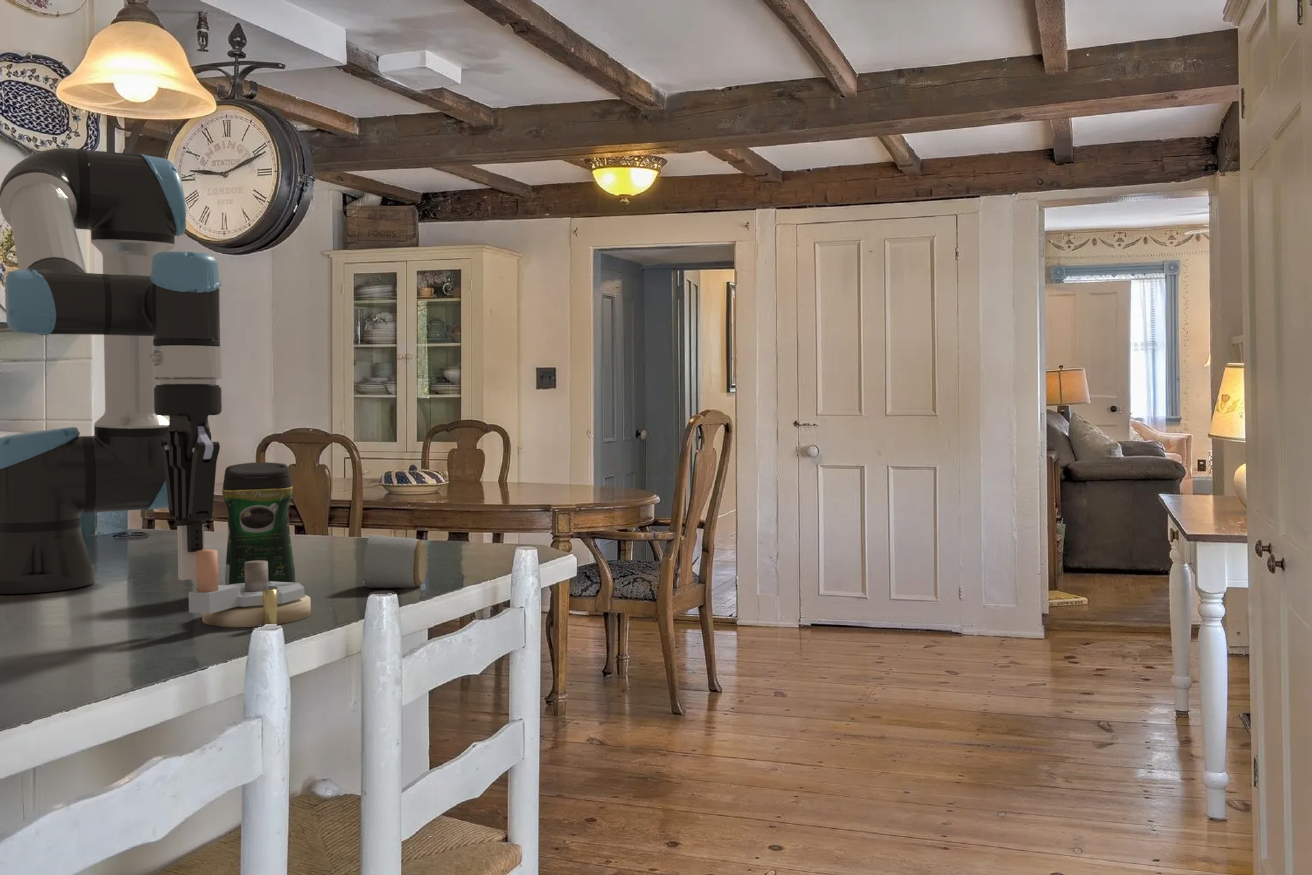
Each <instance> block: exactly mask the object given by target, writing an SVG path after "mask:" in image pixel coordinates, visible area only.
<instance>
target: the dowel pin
mask: <svg viewBox="0 0 1312 875" xmlns="http://www.w3.org/2000/svg"><path fill="white" fill-rule="evenodd" d="M263 622H264V625H265V624H277V589H265V590H263ZM277 625H278V624H277Z"/></svg>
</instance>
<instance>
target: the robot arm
mask: <svg viewBox="0 0 1312 875" xmlns="http://www.w3.org/2000/svg"><path fill="white" fill-rule="evenodd" d="M186 206H187V205H186V199H185V192H184V187H183V183H182V180H181V176H180V173H179V171H178V169H177V167H176V165H175V164H174V163H173V162H172V161H171V160H169V159H166V158H164V157H159V156H152V155H148V154H147V155H146V154H143V153H140V154H139V153H138V154H137V153H127V152H126V153H125V152H115V151H114V152H113V151H103V150H102V151H101V150H90V149H80V148H71V147H69V148H68V147H58V148H51V149H47V150H42V151H39V152H36V153H34V154H32V155H29V156H27V157H26V158H24V159H22V160H21V161H19V162H18V163H16V165H14V166H13V167H12V168H11V169H10V170H9V171H8V172H7V174H6V175H5V176H4V179H3V180H2V182H1V184H0V213H1V215H2V217H3V219H4V220H5V221H6V223H7V224H8V225H9V226H10V227H11V230H12V235H13V242H14V249H15V254H16V261H17V267H18V269H17V270H12V271H9V272H8V273H7V275H6V277H5V283H4V297H5V298H4V300H5V302H4V303H5V318H6V325H7V326H8V328H9V329H10V330H11V331H12V332H15V333H23V334H37V335H40V336H48V335H49V336H50V335H80V336H81V335H83V336H84V335H86V336H87V335H90V336H92V335H95V336H101V335H102V336H103V356H104V357H103V358H104V361H103V362H104V363H103V364H104V410H105V411H104V414H103V415H102V416H101V417H99V418H97V419H96V421H95V422H94V426H93V428H94V429H93V430H94V434H93V435H87V436H86V435H85V436H84V435H82V436H81V432H80V431H79V429H78V427H75V426H72V427H68V426H67V427H61V428H59V427H58V428H51V429H50V428H49V429H44V430H35V431H29V432H21V433H16V434H10V435H5V436H0V594H2V595H3V594H5V595H7V594H8V595H13V594H16V595H17V594H35V593H46V592H48V593H49V592H57V591H66V590H70V589H76V588H77V589H78V588H82V587H86V586H90V585H93V584H94V583H95V582H96V573H95V572H96V568H95V566H94V563H92V562H91V561H90V556H89V552H88V548H87V546H86V543H85V540H84V537H83V534H82V527H81V526H82V525H81V524H82V523H81V520H82V519H81V514H86V513H87V514H88V513H90V514H91V513H106V512H108V513H109V512H123V511H124V512H126V511H140V510H142V511H144V512H148V511H150V510H156V509H157V510H158V509H167V508H168V514H169V517H170V518H174V523H175V524H176V527H177V530H176V531H177V532H176V533H177V573H178V577H177V578H178V580H179V581H180V580H181V581H186V580H197V575H196V551H198V550H205V525H206V523H207V521H211V520H212V518H213V510H214V498H215V497H214V495H215V487H216V486H215V484H216V471H217V461H218V457H219V453H220V448H221V446H220V442H219V441H212V433H211V429H210V424H209V419H208V418H209V416H218V415H220V414H221V413H222V410H223V409H222V408H223V406H222V402H223V401H222V387H220V385H219V384H217V380H221V378H222V377H223V376H222V373H223V372H222V347H221V328H220V327H221V324H220V323H221V319H220V316H221V315H220V311H221V310H220V308H221V307H220V299H221V298H220V295H221V294H220V291H221V289H220V288H221V286H222V285H221V284H222V283H221V280H220V274H219V263H218V260H217V259H216V257H215V256H213V255H212V254H209V253H204V252H203V253H202V252H196V251H171V250H173V249H174V248H175V247H176V245H175V243H176V242H175V237H180V236H182V235H184V234H185V233H186V230H187V229H186V228H187V219H186V218H187V207H186ZM77 230H88V231H90V243H91V244H92V245H93V246H94V247H95V248H96V250H98V251H99V252H100V253H101V255H102V273H90V272H87V268H86V264H85V262H84V261H85V260H84V257H83V253H82V250H81V246H80V242H79V238H78V234H77Z"/></svg>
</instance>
